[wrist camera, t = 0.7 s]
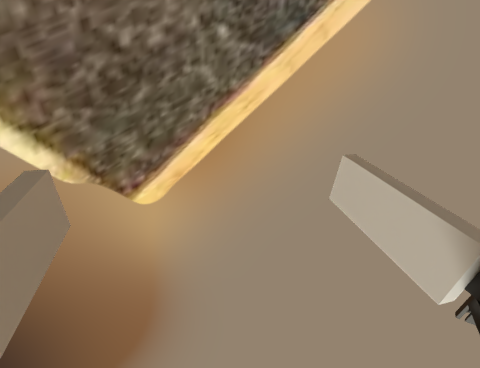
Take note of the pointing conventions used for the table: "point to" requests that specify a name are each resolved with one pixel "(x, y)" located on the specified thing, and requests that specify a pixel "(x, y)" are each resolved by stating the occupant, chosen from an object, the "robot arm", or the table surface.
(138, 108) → the table surface
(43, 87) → the table surface
